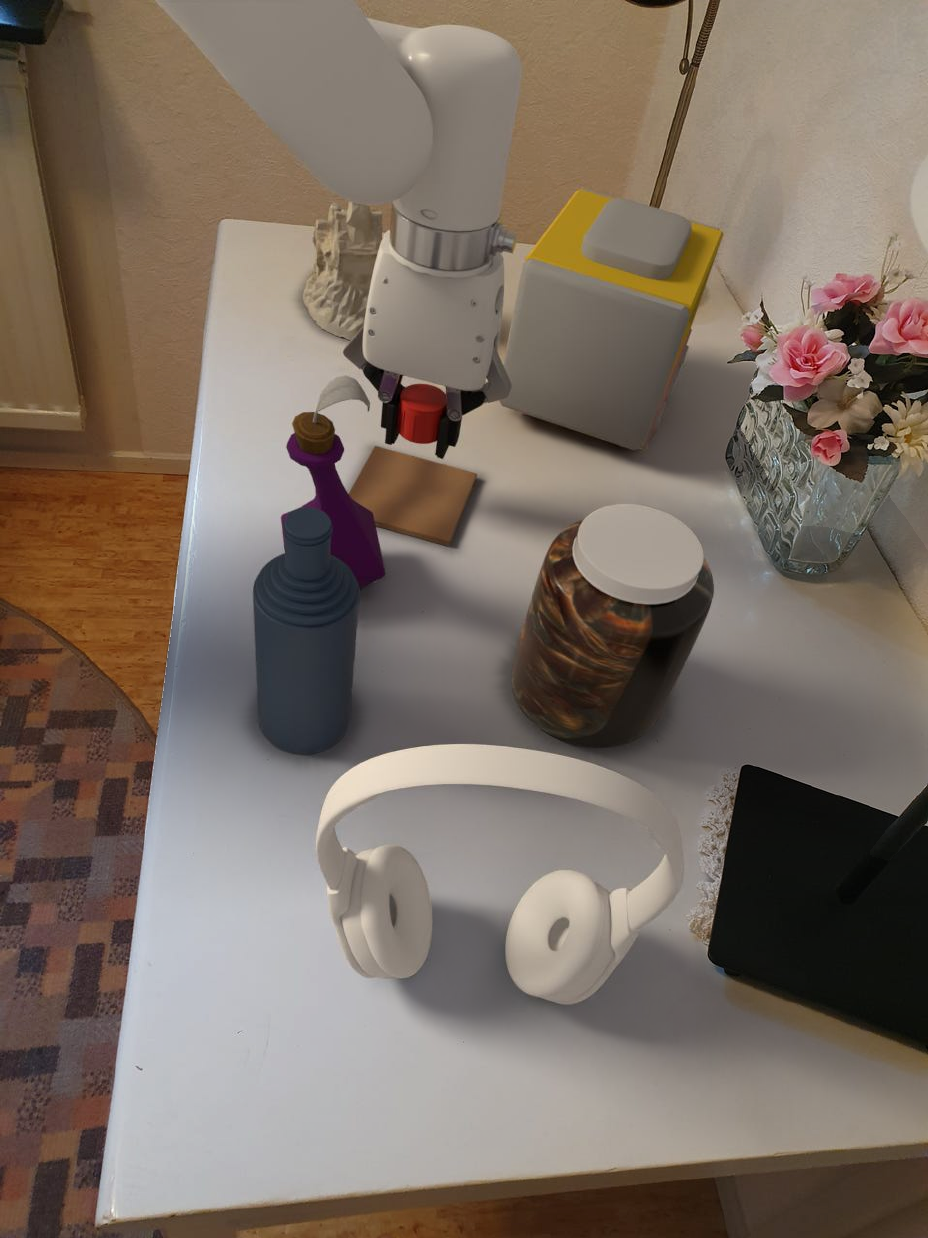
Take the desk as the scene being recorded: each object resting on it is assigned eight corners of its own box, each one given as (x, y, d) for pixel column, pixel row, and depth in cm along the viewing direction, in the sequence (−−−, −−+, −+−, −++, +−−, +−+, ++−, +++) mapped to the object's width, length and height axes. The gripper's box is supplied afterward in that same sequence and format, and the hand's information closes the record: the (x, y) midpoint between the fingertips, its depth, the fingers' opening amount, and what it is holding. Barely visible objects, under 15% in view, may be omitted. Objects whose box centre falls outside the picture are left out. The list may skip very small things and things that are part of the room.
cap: (452, 430, 79) (457, 397, 76) (425, 450, 76) (429, 417, 74) (415, 410, 80) (419, 377, 77) (387, 429, 78) (390, 396, 75)
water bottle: (243, 739, 64) (230, 542, 50) (278, 671, 68) (276, 473, 55) (331, 765, 63) (343, 574, 50) (361, 695, 68) (379, 502, 54)
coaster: (338, 515, 80) (338, 510, 80) (374, 450, 87) (374, 445, 87) (449, 546, 80) (449, 541, 79) (476, 478, 86) (477, 473, 86)
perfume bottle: (288, 610, 72) (287, 419, 59) (280, 544, 77) (278, 353, 64) (383, 604, 74) (403, 417, 61) (370, 540, 79) (386, 354, 66)
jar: (629, 777, 66) (697, 639, 55) (485, 703, 69) (522, 557, 58) (681, 671, 74) (750, 531, 63) (550, 608, 76) (594, 463, 65)
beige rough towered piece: (450, 349, 100) (463, 207, 90) (296, 339, 99) (292, 193, 88) (446, 286, 111) (457, 154, 101) (308, 276, 110) (305, 140, 99)
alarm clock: (640, 473, 90) (702, 299, 77) (489, 422, 93) (523, 244, 79) (678, 376, 103) (737, 213, 90) (545, 333, 106) (582, 168, 92)
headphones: (324, 874, 58) (336, 674, 43) (612, 915, 59) (719, 732, 44) (302, 989, 53) (306, 807, 38) (616, 1031, 54) (738, 869, 39)
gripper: (566, 239, 67) (521, 442, 81) (349, 185, 69) (340, 394, 82) (547, 285, 62) (503, 494, 76) (312, 226, 64) (310, 442, 77)
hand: (418, 440), depth 79 cm, fingers closed on cap, 3 cm apart
